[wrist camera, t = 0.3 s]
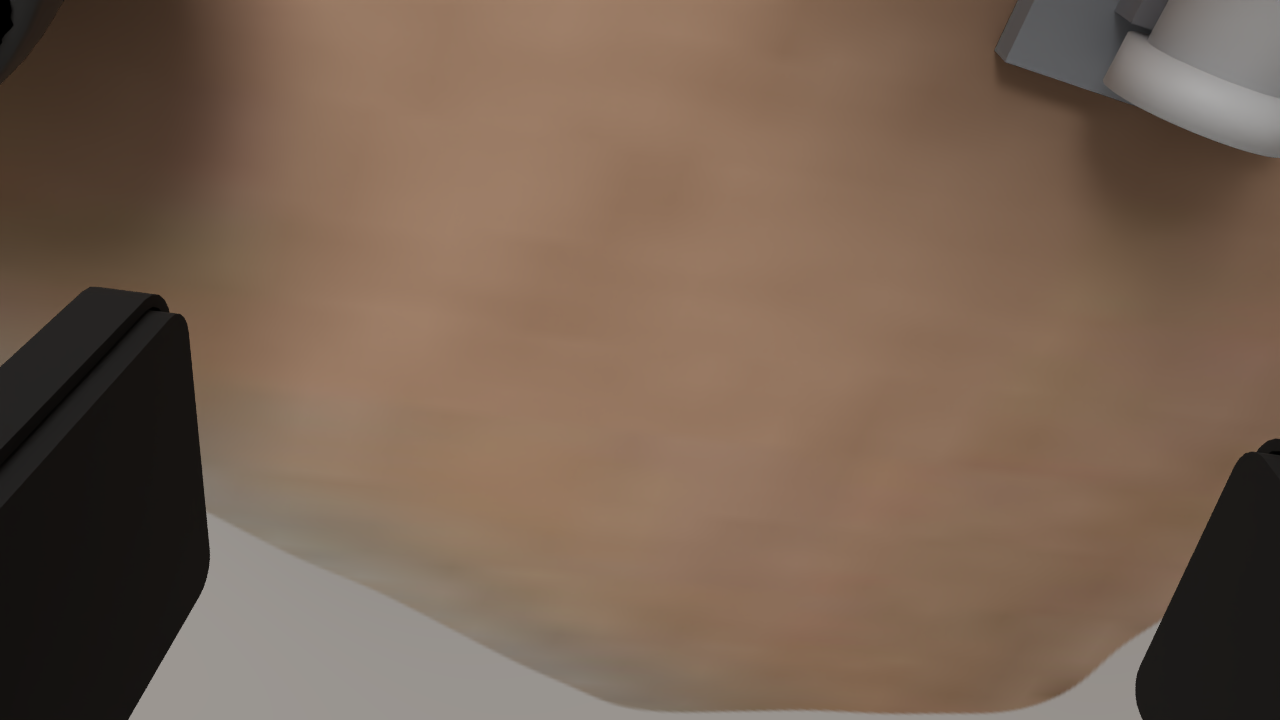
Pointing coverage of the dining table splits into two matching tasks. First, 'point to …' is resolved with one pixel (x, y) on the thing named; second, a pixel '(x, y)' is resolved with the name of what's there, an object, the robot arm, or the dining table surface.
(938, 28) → the dining table surface
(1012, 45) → the valve base
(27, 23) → the bowl of black rocks
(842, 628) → the dining table surface
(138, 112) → the dining table surface
